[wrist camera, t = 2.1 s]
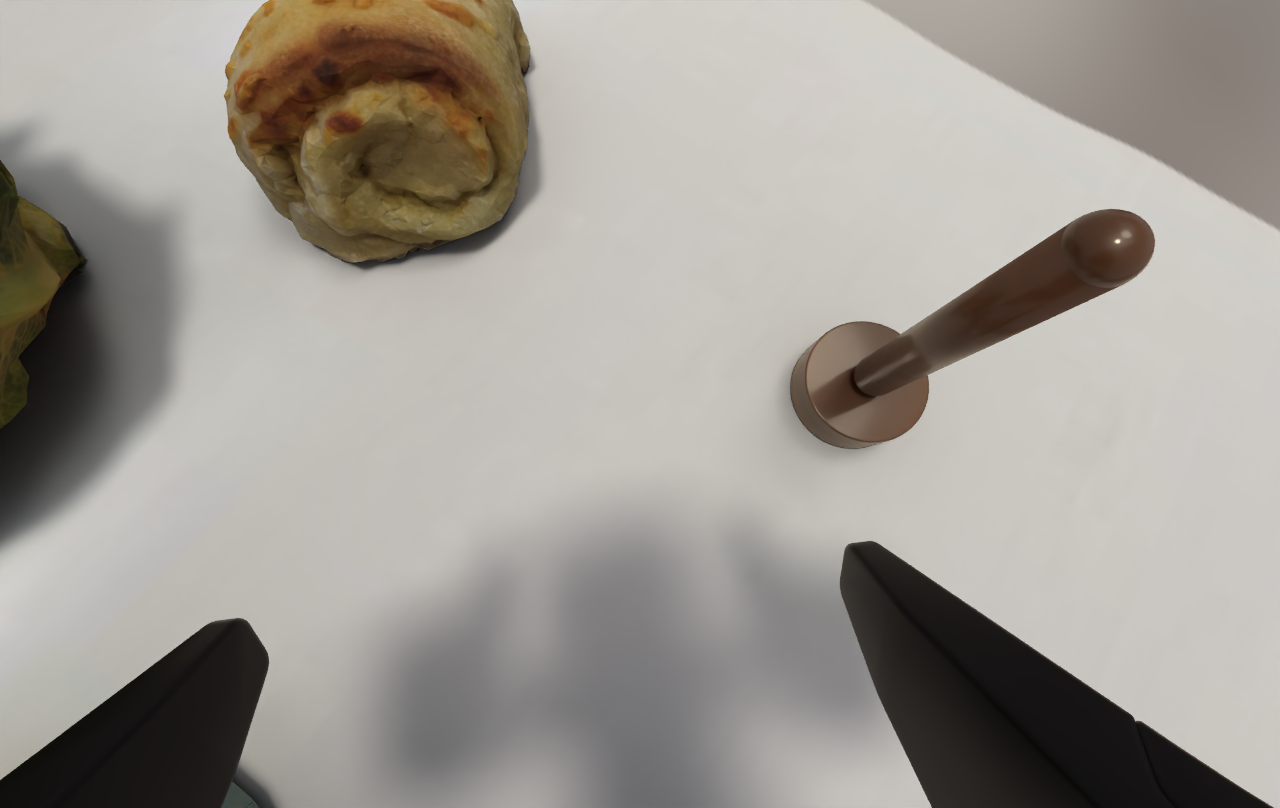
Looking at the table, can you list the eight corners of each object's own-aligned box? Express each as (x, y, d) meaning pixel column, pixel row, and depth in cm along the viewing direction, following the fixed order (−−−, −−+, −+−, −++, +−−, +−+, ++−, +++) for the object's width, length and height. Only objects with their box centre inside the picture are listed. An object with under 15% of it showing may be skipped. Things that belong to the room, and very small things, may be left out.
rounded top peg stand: (915, 356, 24) (1279, 157, 11) (890, 464, 23) (1258, 394, 10) (806, 322, 24) (1029, 84, 11) (777, 427, 23) (982, 309, 10)
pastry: (384, 329, 24) (262, 236, 16) (219, 140, 25) (35, -30, 17) (623, 140, 26) (621, -25, 18) (458, -23, 27) (389, -240, 19)
